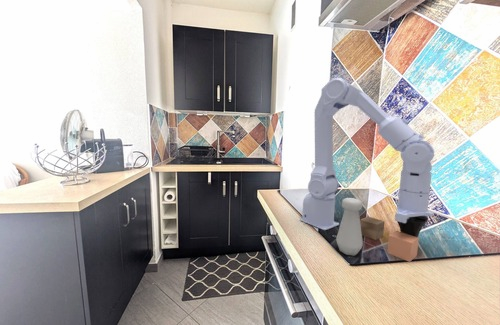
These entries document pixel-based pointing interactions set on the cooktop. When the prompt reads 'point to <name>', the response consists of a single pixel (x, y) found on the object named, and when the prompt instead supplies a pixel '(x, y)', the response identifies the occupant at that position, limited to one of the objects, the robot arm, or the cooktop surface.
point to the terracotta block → (403, 245)
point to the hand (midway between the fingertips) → (408, 243)
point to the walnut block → (372, 228)
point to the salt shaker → (350, 228)
